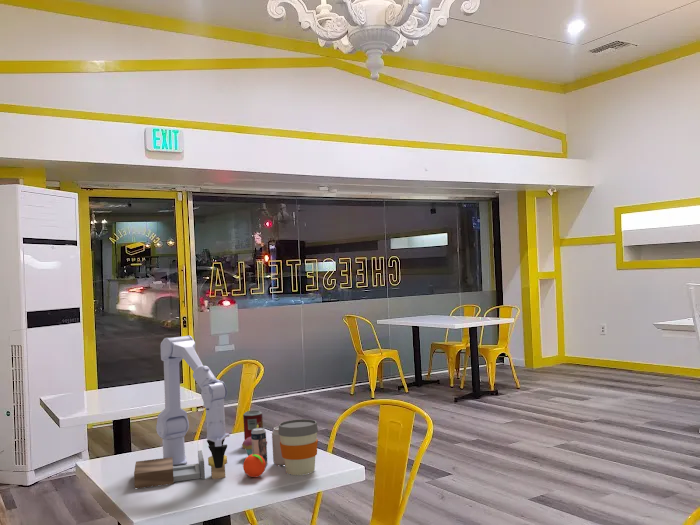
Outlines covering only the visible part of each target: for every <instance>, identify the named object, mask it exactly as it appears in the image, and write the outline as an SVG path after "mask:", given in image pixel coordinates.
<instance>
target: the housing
mask: <svg viewBox="0 0 700 525" xmlns="http://www.w3.org/2000/svg"><path fill="white" fill-rule="evenodd" d="M173 467H174V465H173V459H172V457H170V458H163V457H162V458H155V459H148V460H146V459H145V460H139V461H135V465H134V472H133V483H134V489H135V488H138V489H144V487H146V488H151V486H153V487H159V486H158V485H161V486H166V484H168V485H174V484H175V482H174V479H173Z"/></svg>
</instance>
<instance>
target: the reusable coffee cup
mask: <svg viewBox="0 0 700 525" xmlns="http://www.w3.org/2000/svg"><path fill="white" fill-rule="evenodd" d="M278 426H279V432H278V434H279V435H280V440H281V442H280V447H281V453H282V457H283V458H284V463H285V466H284V467H285V473H286V472H287V473H288V474H287V473H286V474H287V475H289V474H291V475H290V476H304V475H303V474H305V475H309V474H312V473H314V472H315V467H316V456H317V455H318V446H319V444H318V442H319V439H318V436H317V435H318V432H319V427H318V422H317V421H316V420H314V419H310V418H309V419H307V418H304V419H303V418H302V419H301V418H299V419H291V420H286V421H282V422H280V423H279V424H278ZM313 471H314V472H313ZM308 473H309V474H308Z"/></svg>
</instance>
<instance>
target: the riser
mask: <svg viewBox="0 0 700 525" xmlns="http://www.w3.org/2000/svg"><path fill="white" fill-rule="evenodd" d="M210 470H211V479H212V480H215V479H223V478H226V464H225V465H223V467H222V468H215V466H210Z"/></svg>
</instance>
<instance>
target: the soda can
mask: <svg viewBox="0 0 700 525" xmlns="http://www.w3.org/2000/svg"><path fill="white" fill-rule="evenodd" d="M242 416H243V436H244V437H243V438H244V441H245V440H246V439H247V438H249V437H251V432H252V430H253V429H255V428H257V425H259V427H258V428H264V420H263V418H264V417H263V412H262V411H260V410H247V411H245V413H243V415H242Z"/></svg>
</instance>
